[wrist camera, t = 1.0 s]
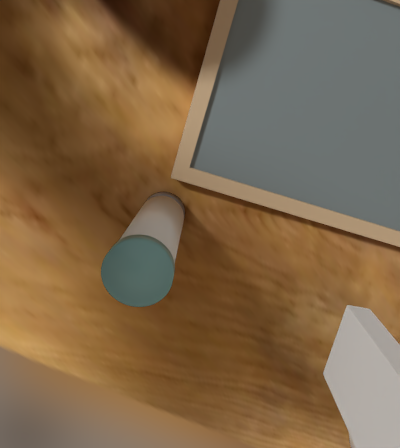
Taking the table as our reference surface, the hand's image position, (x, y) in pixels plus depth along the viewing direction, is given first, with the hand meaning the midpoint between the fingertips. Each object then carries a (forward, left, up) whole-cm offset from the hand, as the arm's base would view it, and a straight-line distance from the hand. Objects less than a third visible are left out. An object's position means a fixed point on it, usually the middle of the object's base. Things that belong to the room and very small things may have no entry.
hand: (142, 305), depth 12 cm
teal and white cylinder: (-1, -3, -19) cm, 20 cm away
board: (+10, +9, -19) cm, 24 cm away
